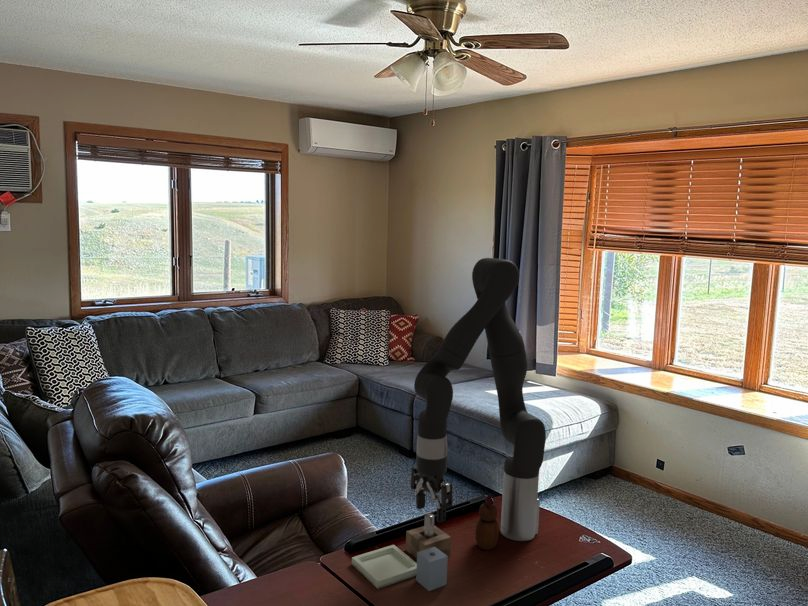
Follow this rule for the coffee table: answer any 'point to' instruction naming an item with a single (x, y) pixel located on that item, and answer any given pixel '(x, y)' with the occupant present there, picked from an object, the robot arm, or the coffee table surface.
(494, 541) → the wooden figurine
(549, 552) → the coffee table surface
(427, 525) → the pin
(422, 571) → the slate block
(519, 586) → the coffee table surface
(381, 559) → the tray
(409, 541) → the wooden socket block
